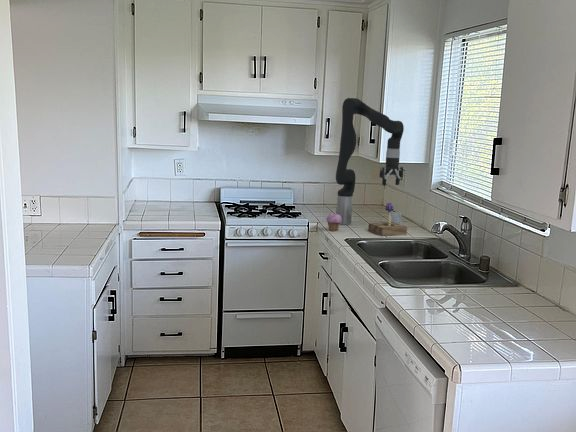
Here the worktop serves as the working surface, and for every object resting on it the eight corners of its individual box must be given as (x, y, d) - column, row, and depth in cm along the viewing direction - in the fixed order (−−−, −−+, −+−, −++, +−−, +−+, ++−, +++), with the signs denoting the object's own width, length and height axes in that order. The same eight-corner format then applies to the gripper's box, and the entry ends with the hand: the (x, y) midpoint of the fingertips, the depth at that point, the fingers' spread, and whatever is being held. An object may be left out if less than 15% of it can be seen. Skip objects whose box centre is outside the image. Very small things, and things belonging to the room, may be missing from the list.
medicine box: (400, 226, 355) (401, 212, 354) (400, 228, 351) (401, 213, 349) (387, 225, 357) (388, 211, 356) (387, 226, 353) (388, 212, 351)
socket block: (368, 230, 340) (368, 222, 339) (391, 229, 346) (391, 221, 345) (382, 236, 326) (383, 227, 326) (406, 234, 333) (406, 226, 332)
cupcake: (324, 228, 340) (325, 211, 338) (338, 228, 342) (339, 212, 340) (328, 232, 332) (329, 214, 330) (342, 232, 333) (343, 214, 331)
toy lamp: (383, 232, 337) (384, 203, 335) (387, 231, 341) (388, 202, 339) (390, 232, 334) (391, 203, 332) (394, 232, 338) (395, 203, 336)
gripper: (399, 156, 334) (397, 184, 338) (378, 156, 329) (376, 184, 332) (407, 157, 328) (404, 186, 331) (385, 157, 322) (383, 186, 325)
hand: (390, 185), depth 331 cm, fingers open, 8 cm apart
